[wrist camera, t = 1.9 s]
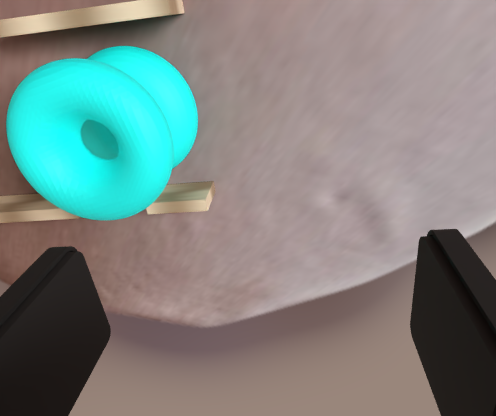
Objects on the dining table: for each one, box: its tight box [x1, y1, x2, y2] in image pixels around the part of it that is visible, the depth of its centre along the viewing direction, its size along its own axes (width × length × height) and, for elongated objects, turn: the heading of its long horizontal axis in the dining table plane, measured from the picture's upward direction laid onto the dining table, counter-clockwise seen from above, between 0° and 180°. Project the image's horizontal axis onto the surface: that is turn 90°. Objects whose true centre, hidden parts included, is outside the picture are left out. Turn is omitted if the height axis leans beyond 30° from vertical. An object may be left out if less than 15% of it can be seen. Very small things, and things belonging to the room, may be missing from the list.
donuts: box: [6, 46, 198, 220], centre depth 26 cm, size 10×10×10 cm
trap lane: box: [0, 0, 215, 223], centre depth 30 cm, size 24×15×5 cm, turn 97°
